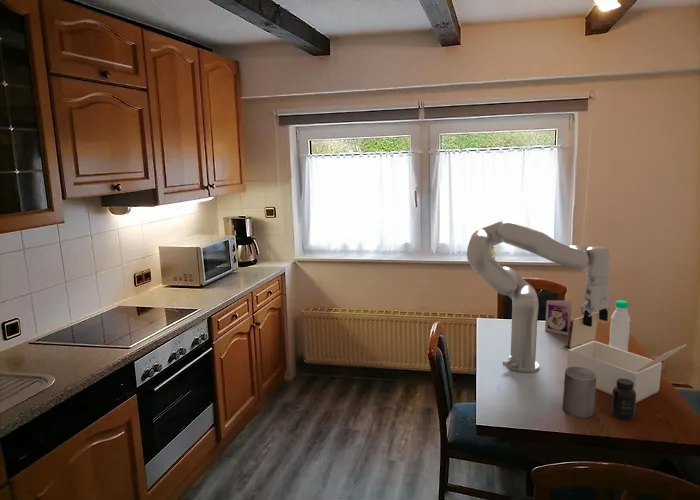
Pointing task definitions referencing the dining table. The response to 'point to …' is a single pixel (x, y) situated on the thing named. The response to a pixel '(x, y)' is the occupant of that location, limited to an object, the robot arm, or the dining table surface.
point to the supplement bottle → (623, 400)
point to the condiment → (569, 337)
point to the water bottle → (620, 326)
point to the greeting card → (558, 316)
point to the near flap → (662, 357)
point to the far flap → (583, 330)
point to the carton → (616, 368)
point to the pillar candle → (579, 392)
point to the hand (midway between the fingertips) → (595, 322)
